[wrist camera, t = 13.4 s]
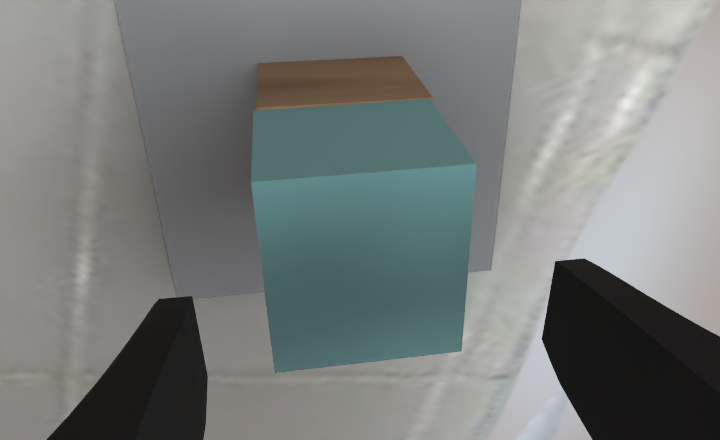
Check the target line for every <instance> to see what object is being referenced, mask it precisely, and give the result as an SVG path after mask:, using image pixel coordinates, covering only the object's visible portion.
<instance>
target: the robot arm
mask: <svg viewBox="0 0 720 440" xmlns="http://www.w3.org/2000/svg"><path fill="white" fill-rule="evenodd" d="M542 340H543V343H544V346H545V348H546V351H547V353H548V356H549V359H550V361H551V364H552V366H553V368H554V371H555V373H556V375H557V378H558V380H559V382H560V384H561V386H562V388H563V389H564V391H565V393H566V395H567V397H568V398H569V400H570V402H571V403H572V405H573V407H574V409H575V410H576V412H577V414H578V416H579V417H580V419H581V421H582V422H583V424H584V426H585V427H586V429H587V431H588V433H589V434H590V436H591V438H592V440H720V337H719V336H717V335H716V334H714V333H712V332H710V331H708V330H706V329H704V328H702V327H701V326H699V325H697V324H695V323H693V322H692V321H690V320H688V319H686V318H685V317H683V316H681V315H679V314H678V313H676V312H674V311H672V310H671V309H669V308H667V307H666V306H664V305H662V304H661V303H659V302H657V301H656V300H654V299H652V298H651V297H649V296H647V295H646V294H644V293H642V292H641V291H639V290H637V289H635V288H634V287H633V286H631V285H629V284H628V283H626V282H624V281H623V280H621V279H619V278H618V277H616V276H614V275H613V274H611V273H609V272H608V271H606V270H604V269H603V268H601V267H599V266H597V265H595V264H594V263H592V262H590V261H588V260H586V259H575V260H564V261H556V262H555V267H554V273H553V279H552V284H551V290H550V296H549V301H548V307H547V313H546V319H545V325H544V330H543V336H542ZM206 404H207V371H206V366H205V361H204V355H203V350H202V345H201V340H200V335H199V330H198V324H197V319H196V314H195V309H194V304H193V299H192V296H187V297H177V298H166V299H159V300H158V301H157V302H156V303H155V304H154V305H153V307H152V308H151V310H150V311H149V313H148V314H147V316H146V317H145V318H144V320H143V321H142V323H141V324H140V326H139V327H138V328H137V330H136V331H135V333H134V334H133V336H132V337H131V338H130V340H129V341H128V342H127V344H126V345H125V347H124V348H123V349H122V351H121V352H120V353H119V355H118V356H117V357H116V359H115V360H114V361H113V362H112V364H111V365H110V366H109V368H108V369H107V370H106V372H105V373H104V374H103V375H102V377H101V378H100V379H99V381H98V382H97V383H96V384H95V385H94V387H93V388H92V389H91V390H90V391H89V392H88V394H87V395H86V396H85V397H84V398H83V400H82V401H81V402H80V403H79V404H78V405H77V407H76V408H75V409H74V410H73V411H72V412H71V414H70V415H69V416H68V417H67V418H66V419H65V420H64V421H63V423H62V424H61V425H60V426H59V427H58V428H57V429H56V430H55V431H54V432H53V433H52V434H51V435H50V436H49V438H48V439H47V440H203V438H204V431H205V424H206Z"/></svg>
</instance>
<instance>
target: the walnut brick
mask: <svg viewBox="0 0 720 440" xmlns="http://www.w3.org/2000/svg"><path fill="white" fill-rule="evenodd" d="M419 99H430V100H431V101H432V103H433V97H432V96H431V94H430V93H429V92H428V90H427V89H426V88H425V86H424V85H423V83H422V82H421V81H420V79H419V78H418V77H417V75H416V74H415V73H414V71H413V70H412V69H411V67H410V66H409V64H408V63H407V62H406V60H405V59H404V58H403V56H391V57H371V58H351V59H331V60H311V61H291V62H271V63H257V100H256V109H257V111H260V110H274V109H289V108H303V107H318V106H332V105H347V104H361V103H376V102H390V101H405V100H419Z"/></svg>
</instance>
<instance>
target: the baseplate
mask: <svg viewBox="0 0 720 440" xmlns="http://www.w3.org/2000/svg"><path fill="white" fill-rule="evenodd" d="M114 1H115V6H116V11H117V16H118V20H119V25H120V30H121V35H122V39H123V44H124V49H125V54H126V58H127V63H128V68H129V73H130V78H131V82H132V87H133V92H134V97H135V101H136V106H137V111H138V116H139V120H140V125H141V130H142V135H143V139H144V144H145V149H146V154H147V158H148V163H149V168H150V173H151V177H152V182H153V187H154V192H155V197H156V201H157V206H158V211H159V216H160V220H161V225H162V230H163V235H164V239H165V244H166V249H167V254H168V258H169V263H170V268H171V273H172V277H173V282H174V287H175V292H176V297H187V296H192V299H195V298H205V297H216V296H226V295H237V294H247V293H257V292H265V290H264V282H263V274H262V266H261V258H260V250H259V242H258V234H257V226H256V218H255V210H254V203H253V195H252V187H251V166H252V136H253V111H257V109H256V100H257V63H271V62H291V61H311V60H331V59H351V58H371V57H391V56H403V58H404V59H405V60H406V62H407V63H408V64H409V66H410V67H411V69H412V70H413V71H414V73H415V74H416V75H417V77H418V78H419V79H420V81H421V82H422V83H423V85H424V86H425V88H426V89H427V90H428V92H429V93H430V94H431V96H432V97H433V104H434V105H435V107H436V108H437V110H438V111H439V112H440V114H441V115H442V116H443V118H444V119H445V121H446V122H447V123H448V125H449V126H450V128H451V129H452V130H453V132H454V133H455V135H456V136H457V137H458V139H459V140H460V141H461V143H462V144H463V146H464V147H465V148H466V150H467V151H468V153H469V154H470V155H471V157H472V158H473V159H474V161H475V162H476V164H477V165H476V178H475V190H474V202H473V214H472V227H471V239H470V251H469V264H468V272H476V271H487V270H491V267H492V258H493V250H494V241H495V232H496V223H497V214H498V205H499V196H500V187H501V178H502V169H503V160H504V152H505V143H506V134H507V125H508V116H509V107H510V98H511V89H512V80H513V71H514V62H515V54H516V45H517V36H518V27H519V18H520V9H521V0H114Z"/></svg>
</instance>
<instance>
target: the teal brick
mask: <svg viewBox="0 0 720 440" xmlns="http://www.w3.org/2000/svg"><path fill="white" fill-rule="evenodd" d="M476 165H477V164H476V162H475V161H474V159H473V158H472V157H471V155H470V154H469V153H468V151H467V150H466V148H465V147H464V146H463V144H462V143H461V141H460V140H459V139H458V137H457V136H456V135H455V133H454V132H453V130H452V129H451V128H450V126H449V125H448V123H447V122H446V121H445V119H444V118H443V116H442V115H441V114H440V112H439V111H438V110H437V108H436V107H435V105H434V104H433V103H432V101H431V100H430V99H419V100H405V101H390V102H376V103H361V104H347V105H332V106H318V107H303V108H289V109H274V110H260V111H253V136H252V166H251V187H252V195H253V203H254V210H255V218H256V226H257V234H258V242H259V250H260V258H261V266H262V274H263V282H264V290H265V298H266V306H267V314H268V321H269V329H270V337H271V345H272V353H273V361H274V369H275V373H276V372H285V371H294V370H302V369H311V368H320V367H328V366H337V365H346V364H354V363H363V362H372V361H380V360H389V359H398V358H406V357H415V356H424V355H432V354H441V353H450V352H458V351H461V349H462V337H463V325H464V313H465V300H466V288H467V276H468V264H469V251H470V239H471V227H472V214H473V202H474V190H475V178H476Z"/></svg>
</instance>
